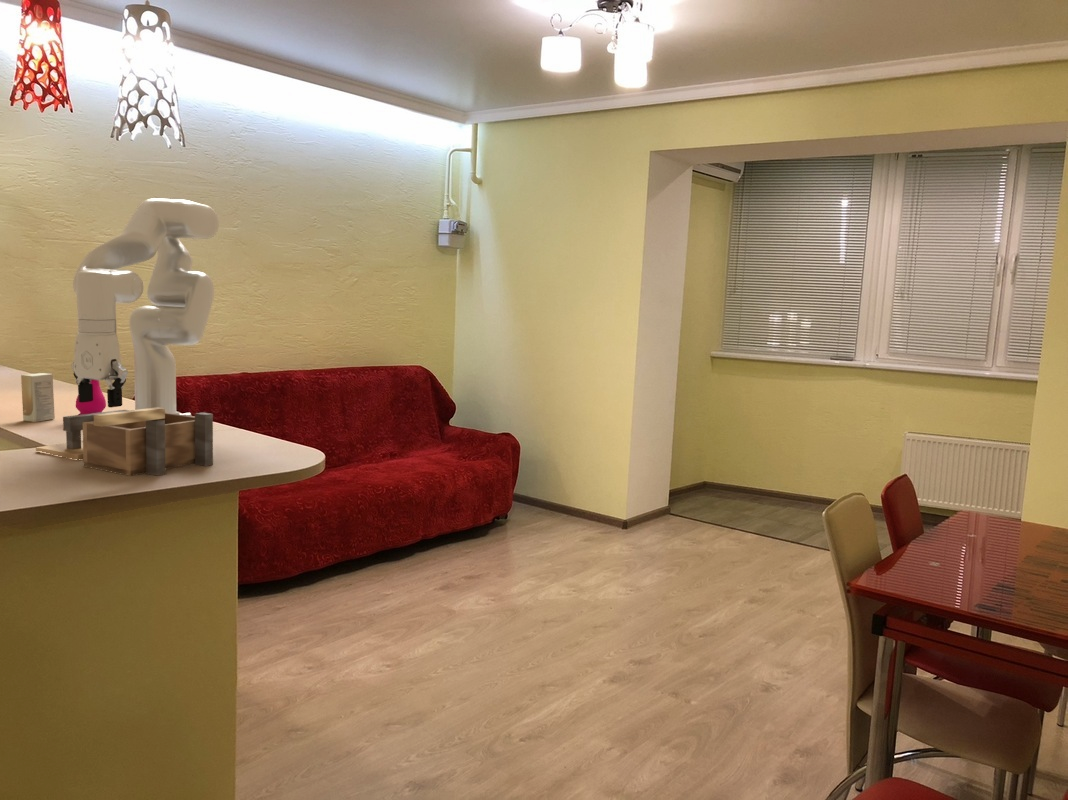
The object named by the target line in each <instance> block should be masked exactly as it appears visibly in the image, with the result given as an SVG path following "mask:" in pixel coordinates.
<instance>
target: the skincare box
mask: <svg viewBox="0 0 1068 800" xmlns="http://www.w3.org/2000/svg"><path fill="white" fill-rule="evenodd" d="M53 377H54V376H53V374H52V373H46V372H43V373H42V372H39V373H31V374H30V373H29V374H21V375H20V380H21V381H20V382H21V383H20V384H21V401H22V402H21V403H22V419H23V420H22V421H25V422H30V423H31V422H32V423H36V422H37V423H38V422H43V421H49V420H54V419H56V418H55V417H56V416H55V414H56V413H55V398H54V397H55V396H54V395H55V394H54V378H53Z"/></svg>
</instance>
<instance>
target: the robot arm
mask: <svg viewBox="0 0 1068 800" xmlns="http://www.w3.org/2000/svg"><path fill="white" fill-rule="evenodd" d="M135 209H136V210H135V211H134V212H133V214H132V215H131V217H130V219H129V221H128V222H127V224H126V226H125V227H124V229H123V230H122V231H121V234H119V235H117V236H115V237H113V238H111V239H110V240H107V241H106V242H103V243H102V244H100V245H98V246H97V247H95V248H93V249H92V250H90V252H88V253H87V254H86V255H85V256H84V258H83V259H82V261H81V262H80V264H79V266H78V268H77V269H76V271H75V273H74V276H73V282H72V287H73V292H74V294H75V295H76V310H77V312H76V313H77V315H76V316H77V332H76V336H75V340H74V341H75V342H74V354H73V355H74V356H73V357H74V359H73V361H74V362H72V363H71V365H70V366H71V369H72V371H73V377H74V378H75V383H76V385H77V393H78V395H77V396H78V397H79V402H81V403H82V402H90V401H93V384H92V383H90V382H91V380H99V381H105V383H106V385H107V386H108V388H109V389H108V388H107V390H106V391H107V392H106V393H107V407H108V408H111V409H112V408H117V407H122V406H123V388H125V386H124V384H126V382H127V380H126V379H127V376H128V375H129V373H128V372H129V371H128V369H127V368H125V367H124V366H123V365H122V359H121V358H122V357H121V351H120V350H121V349H120V344H119V343H120V342H119V339H118V333H117V309H116V304H129V303H130V304H131V303H134V302H137V300H139V299H140V298H141V297H142V295H143V292H144V284H143V280H142V278H141V277H140V276H139V274H138V273H136V272H135V271H131V270H128V269H121V268H126V267H129V266H133V265H137V264H140V263H144V262H146V261H149V260H150V259H152V258H154V257H155V255H156V253H157V257H156V261H155V263H154V267H153V269H152V272H151V275H150V279H149V282H148V285H147V291H146V293H147V294H146V295H147V299H148V301H149V302H150V303H151V304H152V305H142V306H139V307H137V308H135V309H133V311H132V313H131V314H130V316H129V321H128V322H129V323H128V324H129V331H130V334H131V339H132V345H133V357H134V410H139V409H147V408H156V407H160V408H165V412H166V413H173V414H180V415H187V416H192V414H191V412H185V413H181V412H180V411H177V365H176V363H177V362H176V358H175V357H174V354H173V353H172V351H171V350H170V348H169V347H168V346H167V345H170V346H172V345H173V346H193V345H198V344H199V343H200V342H201V340H202V339H203V337H204V335H205V331H206V328H207V324H208V320H209V317H210V314H211V310H212V306H213V302H214V299H215V286H214V282H213V280H212V278H211V277H210V276H209V275H208V274H207V273H205V272H201V271H195V270H193V271H191V269H192V266H193V258H192V256H191V254H190V252H189V250H188V249H187V247H186V246H184V244H183V243H182V241H181V240H180V239H193V240H194V239H195V240H197V239H198V240H209V239H212V238H214V237H215V235H216V234H217V232H218V230H219V227H220V224H219V223H220V222H219V221H220V220H219V217H218V214H217V212H216V210H214V209H213V208H212V207H211V206H210V205H207V204H202V203H199V202H195V201H191V200H187V199H177V198H176V199H174V198H173V199H172V198H171V199H170V198H148V199H144V200H143V201H142V202H140V203H139V205H138V206H137V208H135ZM89 383H90V384H89Z"/></svg>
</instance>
